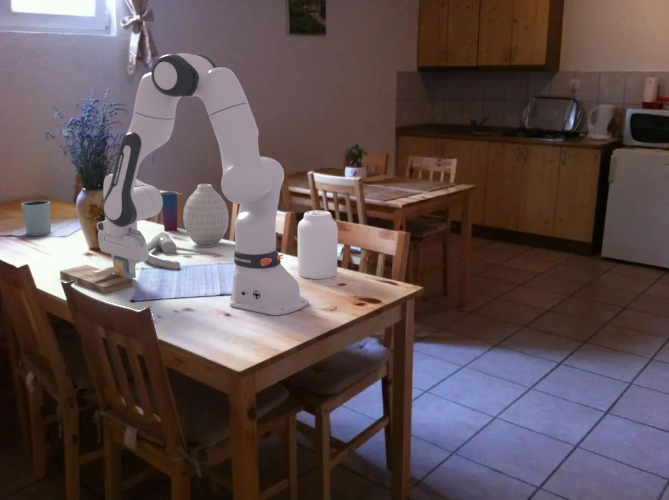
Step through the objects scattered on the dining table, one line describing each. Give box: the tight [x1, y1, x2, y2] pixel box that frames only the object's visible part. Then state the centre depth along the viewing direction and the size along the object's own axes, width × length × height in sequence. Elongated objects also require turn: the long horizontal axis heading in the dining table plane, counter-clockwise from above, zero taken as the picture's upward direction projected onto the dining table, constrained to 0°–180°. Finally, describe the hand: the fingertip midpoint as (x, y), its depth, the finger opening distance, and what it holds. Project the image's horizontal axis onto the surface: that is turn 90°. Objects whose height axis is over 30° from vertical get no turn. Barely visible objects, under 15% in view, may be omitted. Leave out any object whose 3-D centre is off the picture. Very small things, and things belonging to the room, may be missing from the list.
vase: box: [182, 183, 229, 248], centre depth 234 cm, size 16×16×22 cm
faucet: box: [146, 231, 223, 271], centre depth 220 cm, size 5×28×28 cm
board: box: [59, 264, 133, 295], centre depth 193 cm, size 24×9×2 cm, turn 51°
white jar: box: [297, 209, 339, 280], centre depth 201 cm, size 12×12×20 cm
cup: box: [161, 191, 179, 232], centre depth 257 cm, size 7×7×15 cm
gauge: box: [93, 257, 137, 280], centre depth 192 cm, size 5×12×6 cm, turn 141°
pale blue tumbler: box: [20, 200, 52, 236], centre depth 250 cm, size 10×10×12 cm
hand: (124, 270), depth 195 cm, fingers closed on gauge, 5 cm apart
